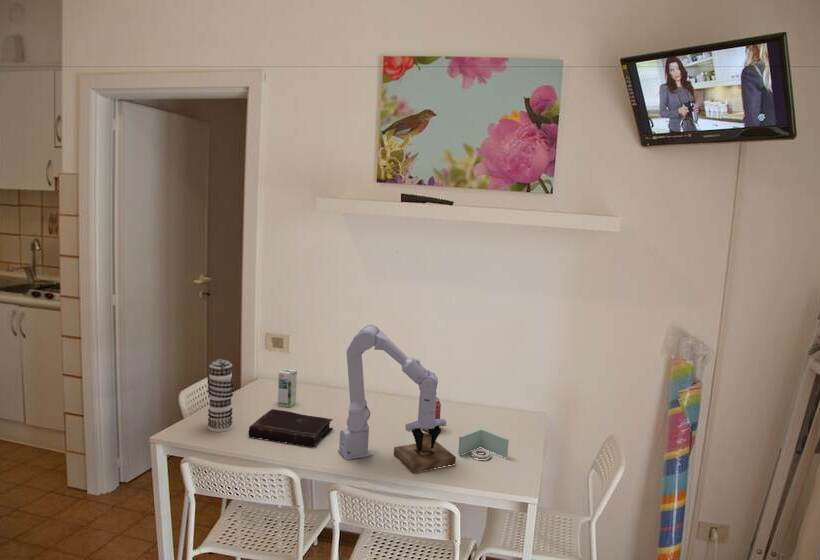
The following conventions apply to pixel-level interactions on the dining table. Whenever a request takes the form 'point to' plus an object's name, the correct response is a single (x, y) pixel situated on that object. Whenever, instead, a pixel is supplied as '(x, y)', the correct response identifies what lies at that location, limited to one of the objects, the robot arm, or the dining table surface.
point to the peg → (426, 444)
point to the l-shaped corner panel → (483, 444)
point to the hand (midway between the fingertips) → (424, 448)
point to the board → (424, 457)
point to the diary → (290, 427)
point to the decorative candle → (220, 395)
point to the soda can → (438, 409)
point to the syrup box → (287, 387)
